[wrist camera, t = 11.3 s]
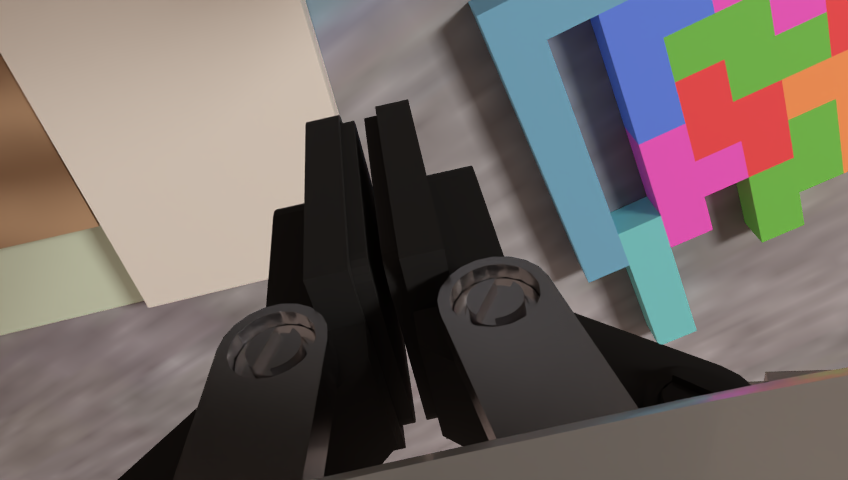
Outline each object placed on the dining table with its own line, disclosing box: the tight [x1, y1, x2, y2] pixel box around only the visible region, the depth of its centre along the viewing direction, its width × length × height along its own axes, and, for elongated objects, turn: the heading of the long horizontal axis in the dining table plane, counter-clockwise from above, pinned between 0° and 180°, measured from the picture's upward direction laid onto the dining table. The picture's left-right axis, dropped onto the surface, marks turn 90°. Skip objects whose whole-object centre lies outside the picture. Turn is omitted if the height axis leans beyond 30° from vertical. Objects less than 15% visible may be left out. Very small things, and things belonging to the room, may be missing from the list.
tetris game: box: [468, 0, 848, 345], centre depth 43 cm, size 28×3×28 cm
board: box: [0, 0, 340, 308], centre depth 37 cm, size 22×14×2 cm, turn 11°
